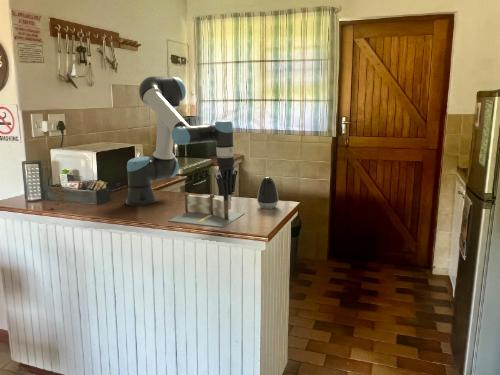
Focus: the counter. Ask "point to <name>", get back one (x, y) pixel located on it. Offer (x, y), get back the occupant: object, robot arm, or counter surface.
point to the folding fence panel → (220, 208)
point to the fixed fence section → (199, 204)
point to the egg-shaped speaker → (267, 194)
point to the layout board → (206, 219)
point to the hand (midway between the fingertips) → (228, 208)
